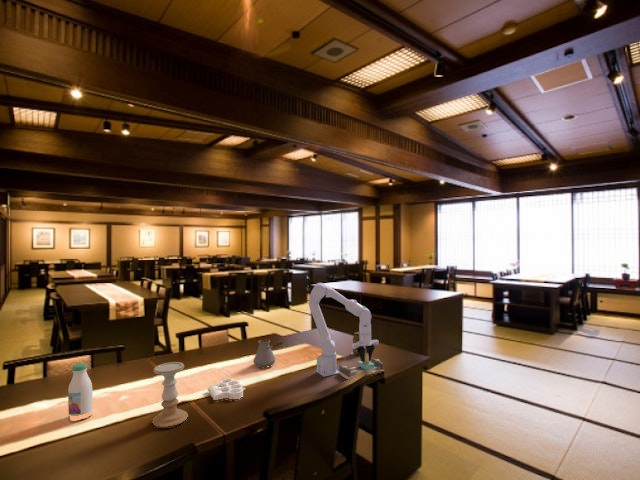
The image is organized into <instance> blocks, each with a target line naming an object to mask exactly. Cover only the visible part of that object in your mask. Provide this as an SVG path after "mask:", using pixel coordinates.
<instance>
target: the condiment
mask: <svg viewBox="0 0 640 480" xmlns="http://www.w3.org/2000/svg"><path fill="white" fill-rule="evenodd" d="M359 341H360V336H359V331H354V332H353V336H352V344H354V343H357V342H359ZM349 354H351V356H356V357H359V358H360V355H359V353H358V350H357V349H353V348H352V352H350V353H349Z"/></svg>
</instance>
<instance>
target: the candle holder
mask: <svg viewBox="0 0 640 480" xmlns="http://www.w3.org/2000/svg"><path fill="white" fill-rule="evenodd" d="M184 368H185V364H184V363H183V362H180V361H171V362H166V363H165V362H163V363H162V364H159V365H156V366H155V367H154V368H153V372H154V374H157V375H161V376H162V377H163V378H164V380H163V381H162V382H161V385H162V386H163V390H162V394H161V399H162V402H161V406H162V407H163V409H162V411H161V412H159V413H158V414H157V415H156V416H155V417H153V418H152V420H153V421H152V420H151V424H152V423H153V424H154V425H156V426H160V427H168V426H173V425H177V424H180V423H182V422H183V421H185V420H186V419H187V417H188V418H189V414H188V412H187V411H185V410H184V409H180V408H178V407H177V405H178V404H179V399H178V396H179V394H178V390H177V387H176V384H177V382H178V380H177V379H176V378H175V376H176V375H177V373H178V372H181V371H183V370H184ZM187 420H188V419H187ZM187 420H186V421H187Z"/></svg>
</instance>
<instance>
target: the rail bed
mask: <svg viewBox="0 0 640 480" xmlns="http://www.w3.org/2000/svg"><path fill="white" fill-rule="evenodd" d="M370 362H371V363H373V364H374V368H372V369H367V370H365V369H363V368H361V367H360V366H358V365H357V366H354V367H349V368H348V366H347V365H342V364H339V365H338V366H339V367H338V369H339V370H338V371H339V373H338V374H339V376H341V377H343V378H345V380H347V379H348V378H350V377H352V376H354V375H356V374H358V373H363V374H371V373H375V372H379V371H384V372H385V363H383V362H382V361H381V360H380V359H378V358H373V357H371V360H370Z"/></svg>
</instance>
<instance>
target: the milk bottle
mask: <svg viewBox="0 0 640 480" xmlns="http://www.w3.org/2000/svg"><path fill="white" fill-rule="evenodd" d="M87 370H88V364H87V363H86V362H84V363H83V362H82V363H81V362H80V363H77V364H74V365H72V378H71V381H70V383H69V385H68V388H67V390H68V393H67V400H68V402H67V403H68V404H67V407H68V416H69V415H71V416H79V415H83V414H86V413H88V412H90V411H91V410H92V409H93V410H94V401H93V399H94V398H93V397H94V396H93V383H92V380H91V379H90V376H89V375H88V372H87Z"/></svg>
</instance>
